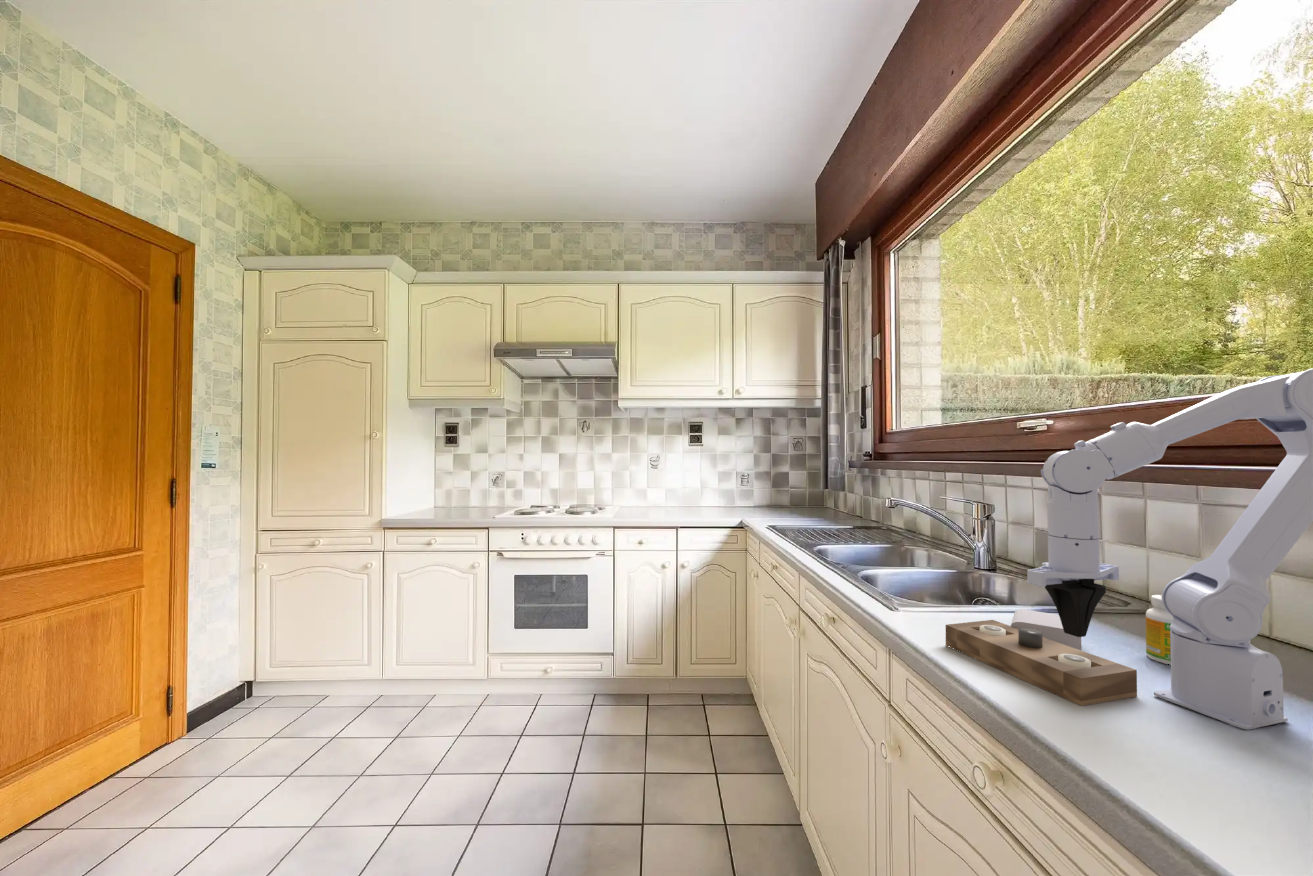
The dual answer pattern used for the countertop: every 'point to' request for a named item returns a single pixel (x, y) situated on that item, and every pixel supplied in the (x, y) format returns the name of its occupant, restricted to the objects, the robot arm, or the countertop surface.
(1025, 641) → the pot knob
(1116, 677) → the knob mount
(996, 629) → the far knob
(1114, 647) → the countertop surface
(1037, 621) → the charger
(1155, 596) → the supplement bottle
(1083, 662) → the near knob
